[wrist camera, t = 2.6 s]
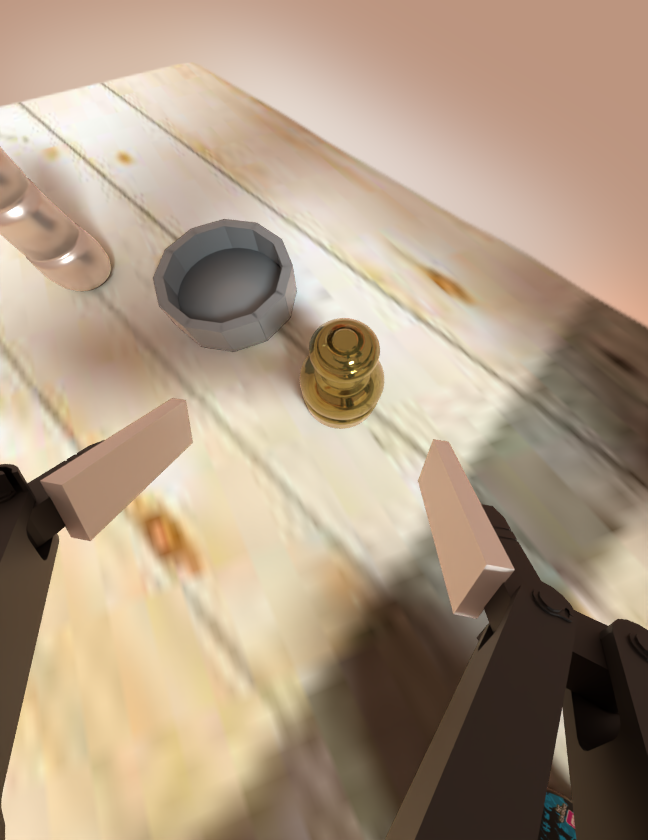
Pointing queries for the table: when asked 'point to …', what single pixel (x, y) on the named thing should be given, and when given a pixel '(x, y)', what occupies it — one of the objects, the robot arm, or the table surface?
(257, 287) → the bowl
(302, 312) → the table surface
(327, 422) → the gold pawn
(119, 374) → the table surface
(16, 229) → the plastic bottle
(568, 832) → the container
